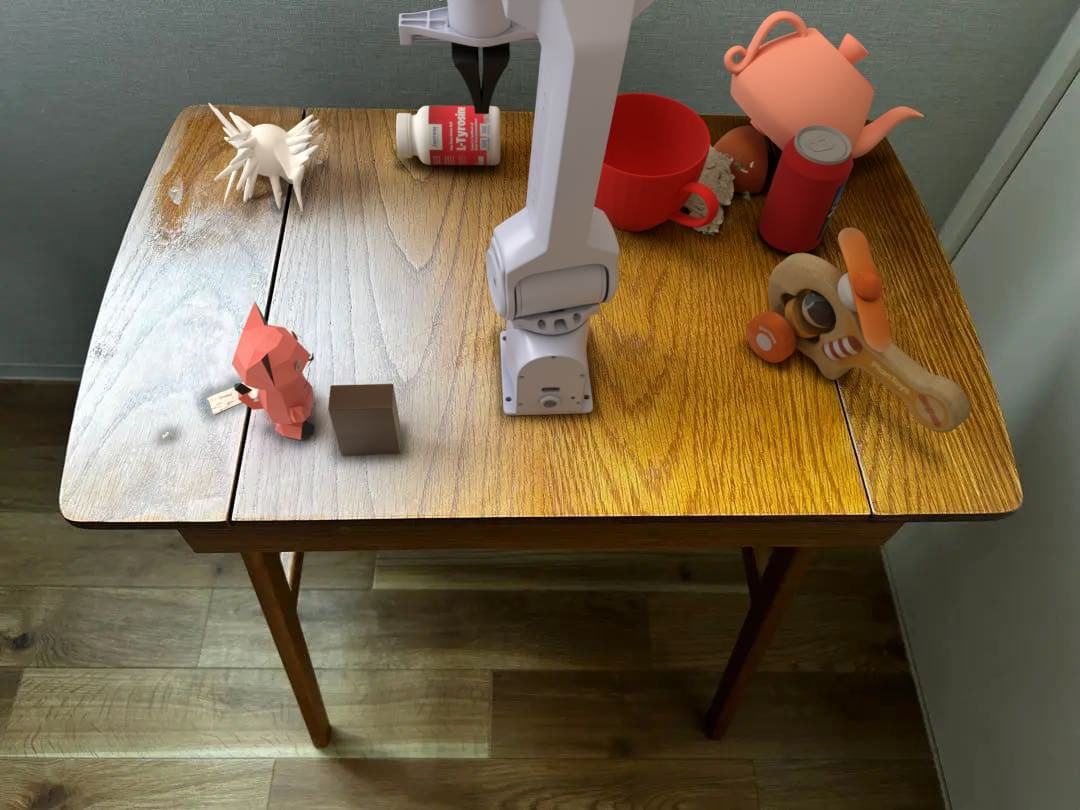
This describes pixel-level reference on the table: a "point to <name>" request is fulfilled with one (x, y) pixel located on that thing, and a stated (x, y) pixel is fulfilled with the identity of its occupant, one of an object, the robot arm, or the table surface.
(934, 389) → the toy helicopter
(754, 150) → the brown egg
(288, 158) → the spiky ball
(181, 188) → the table surface
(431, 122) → the pill bottle
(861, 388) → the table surface
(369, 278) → the table surface
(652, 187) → the ceramic cup
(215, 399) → the card
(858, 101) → the teapot
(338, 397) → the walnut block
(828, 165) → the beverage can
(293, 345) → the cat figurine
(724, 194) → the stone fragment
